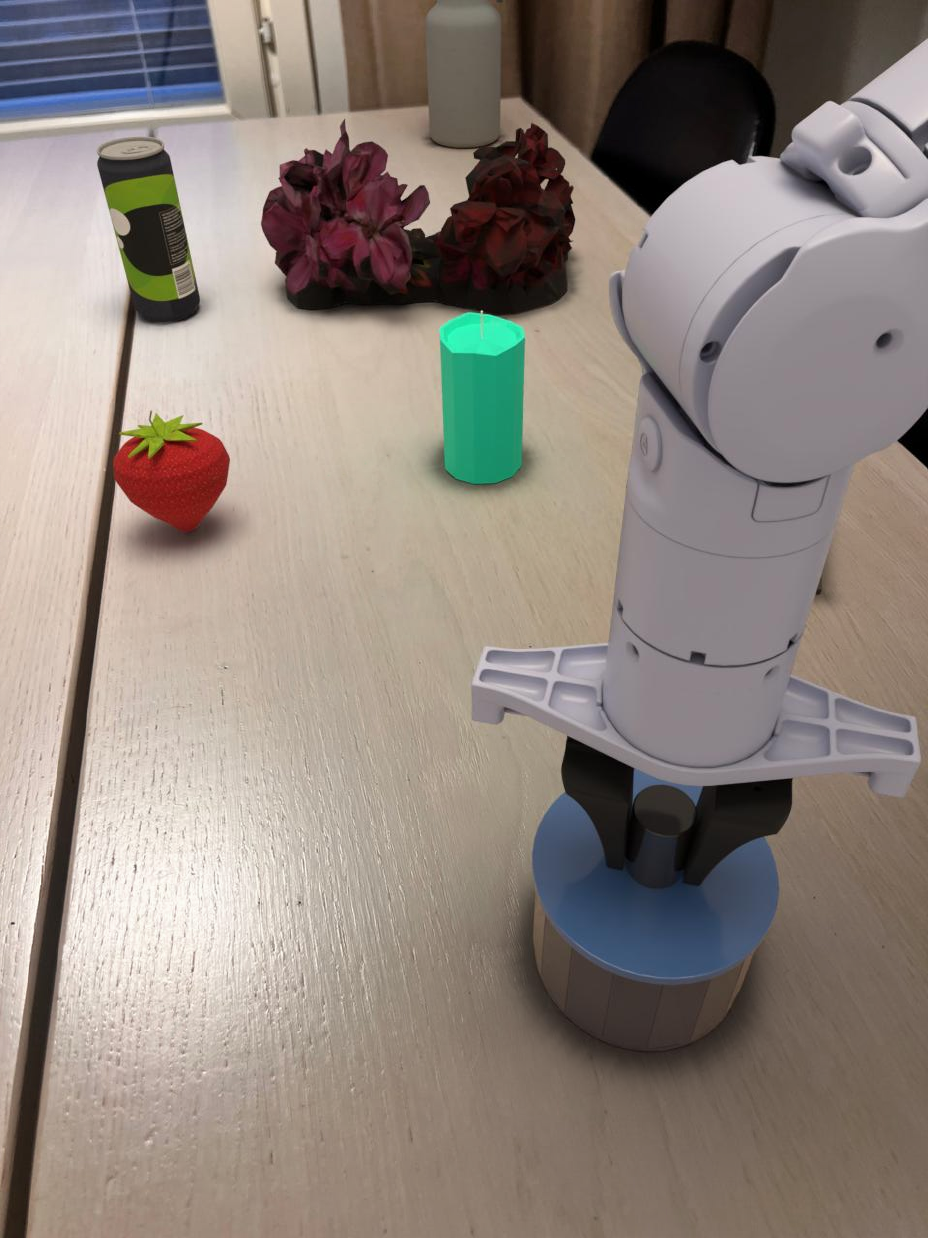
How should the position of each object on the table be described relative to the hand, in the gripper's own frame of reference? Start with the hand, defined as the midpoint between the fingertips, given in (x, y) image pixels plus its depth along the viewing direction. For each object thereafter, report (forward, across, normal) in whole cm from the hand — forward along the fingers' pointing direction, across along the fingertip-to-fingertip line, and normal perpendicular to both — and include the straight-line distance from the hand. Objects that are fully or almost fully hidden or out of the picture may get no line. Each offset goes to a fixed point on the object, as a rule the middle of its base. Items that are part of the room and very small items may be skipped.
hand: (655, 856), depth 38 cm
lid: (+1, 0, 0) cm, 1 cm away
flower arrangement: (+8, +29, -67) cm, 73 cm away
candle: (+8, +16, -37) cm, 41 cm away
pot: (+7, 0, 0) cm, 7 cm away
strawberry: (+8, +34, -24) cm, 42 cm away
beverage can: (+8, +52, -56) cm, 77 cm away
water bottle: (+8, +37, -115) cm, 121 cm away
